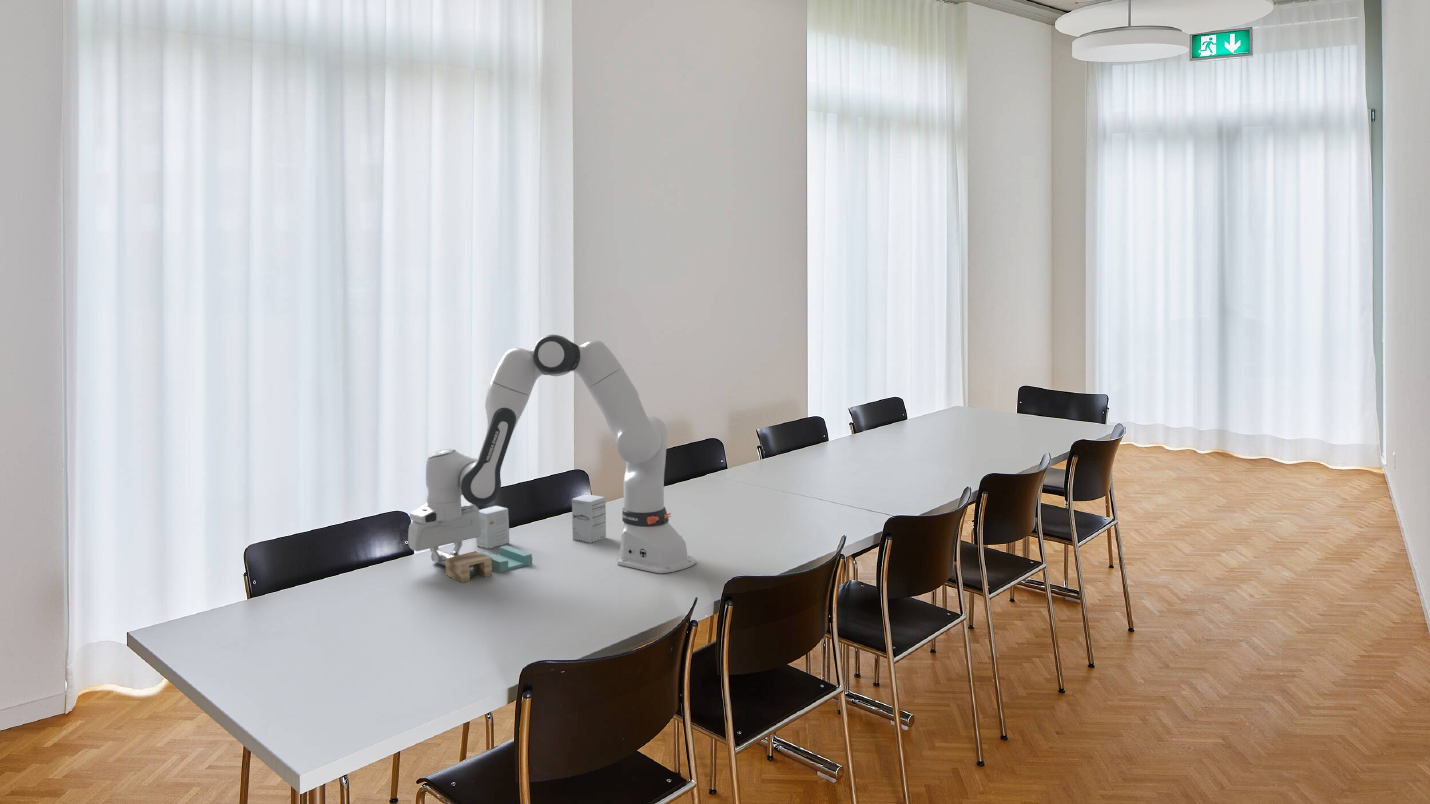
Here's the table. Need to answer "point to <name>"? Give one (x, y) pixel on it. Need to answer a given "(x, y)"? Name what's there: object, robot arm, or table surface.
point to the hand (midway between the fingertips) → (446, 559)
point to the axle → (472, 568)
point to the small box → (493, 527)
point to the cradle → (509, 558)
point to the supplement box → (589, 518)
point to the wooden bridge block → (460, 565)
